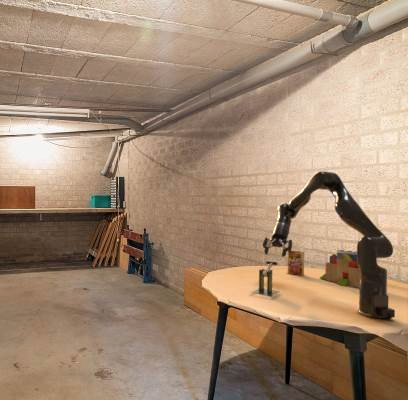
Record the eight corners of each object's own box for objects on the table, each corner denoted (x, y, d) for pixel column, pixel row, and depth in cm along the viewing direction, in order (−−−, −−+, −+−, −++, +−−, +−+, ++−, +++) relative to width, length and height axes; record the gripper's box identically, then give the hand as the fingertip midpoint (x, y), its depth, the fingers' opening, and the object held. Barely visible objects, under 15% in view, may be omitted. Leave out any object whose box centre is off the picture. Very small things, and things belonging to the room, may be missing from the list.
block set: (315, 279, 210) (316, 247, 210) (331, 277, 215) (332, 246, 215) (363, 291, 184) (364, 255, 184) (381, 288, 189) (381, 253, 189)
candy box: (287, 273, 226) (287, 250, 226) (289, 272, 229) (289, 249, 229) (302, 275, 219) (302, 252, 219) (304, 274, 222) (304, 251, 222)
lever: (267, 263, 184) (267, 259, 183) (277, 265, 180) (277, 261, 180) (260, 276, 176) (259, 272, 175) (270, 277, 172) (269, 273, 171)
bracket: (259, 290, 183) (260, 266, 183) (280, 294, 176) (280, 269, 176) (250, 295, 173) (251, 270, 173) (271, 299, 166) (272, 273, 166)
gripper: (266, 226, 196) (259, 248, 187) (293, 228, 186) (287, 251, 178) (269, 235, 199) (262, 257, 191) (296, 237, 190) (290, 260, 181)
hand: (274, 254), depth 184 cm, fingers open, 8 cm apart
